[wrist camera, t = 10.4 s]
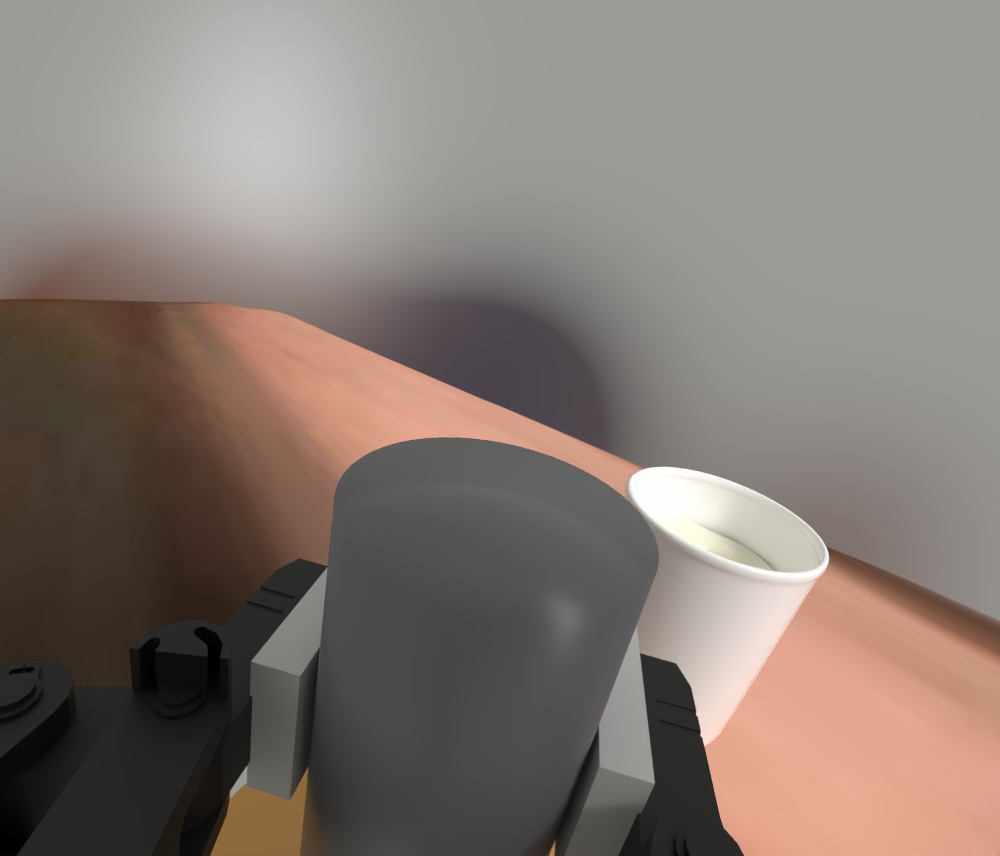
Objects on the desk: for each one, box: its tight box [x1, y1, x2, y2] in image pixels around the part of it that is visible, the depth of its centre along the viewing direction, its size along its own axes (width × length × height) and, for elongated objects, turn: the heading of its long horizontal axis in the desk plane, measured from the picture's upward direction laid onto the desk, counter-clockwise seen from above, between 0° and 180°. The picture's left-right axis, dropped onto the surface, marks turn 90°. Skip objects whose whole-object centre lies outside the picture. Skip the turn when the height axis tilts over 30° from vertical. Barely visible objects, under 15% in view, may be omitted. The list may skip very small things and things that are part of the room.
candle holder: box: [624, 467, 829, 746], centre depth 28 cm, size 10×10×12 cm
